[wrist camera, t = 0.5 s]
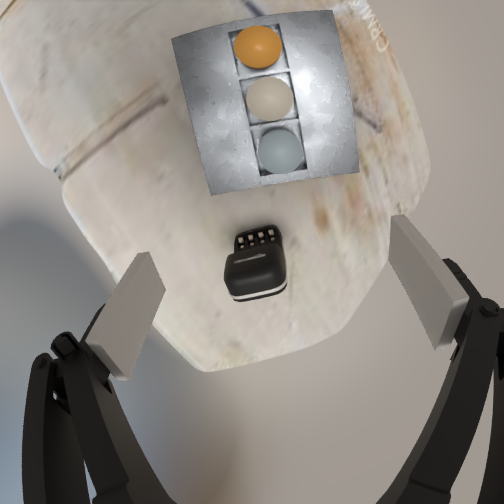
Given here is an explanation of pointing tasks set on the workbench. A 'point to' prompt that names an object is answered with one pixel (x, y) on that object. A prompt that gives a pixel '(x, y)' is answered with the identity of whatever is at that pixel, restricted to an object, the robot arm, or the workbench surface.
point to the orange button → (258, 47)
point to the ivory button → (269, 98)
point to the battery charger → (256, 265)
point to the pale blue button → (280, 151)
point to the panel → (252, 128)
